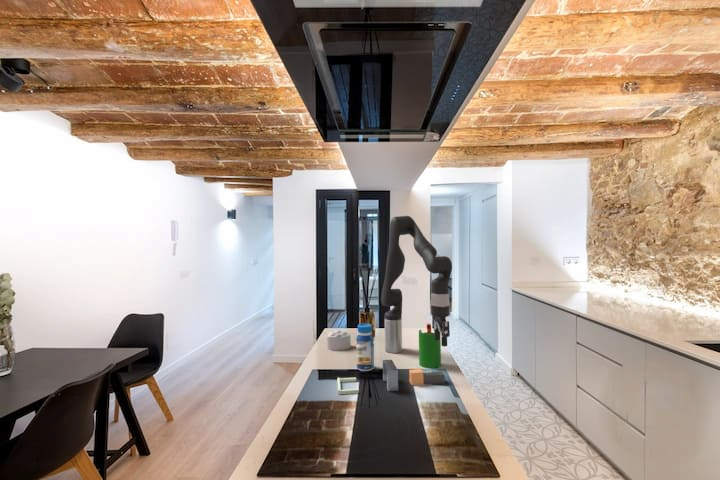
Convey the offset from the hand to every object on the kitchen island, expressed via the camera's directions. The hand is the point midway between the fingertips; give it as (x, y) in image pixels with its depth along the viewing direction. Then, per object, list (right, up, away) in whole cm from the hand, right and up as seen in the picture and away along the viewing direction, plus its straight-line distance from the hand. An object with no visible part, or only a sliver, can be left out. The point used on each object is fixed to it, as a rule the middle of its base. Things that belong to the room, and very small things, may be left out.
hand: (440, 343), depth 137 cm
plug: (-6, -16, -1) cm, 17 cm away
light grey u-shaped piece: (-38, -17, -4) cm, 42 cm away
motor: (0, -17, +19) cm, 25 cm away
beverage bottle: (-31, -17, +16) cm, 39 cm away
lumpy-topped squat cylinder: (-46, -18, +48) cm, 68 cm away
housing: (-21, -16, -2) cm, 27 cm away
